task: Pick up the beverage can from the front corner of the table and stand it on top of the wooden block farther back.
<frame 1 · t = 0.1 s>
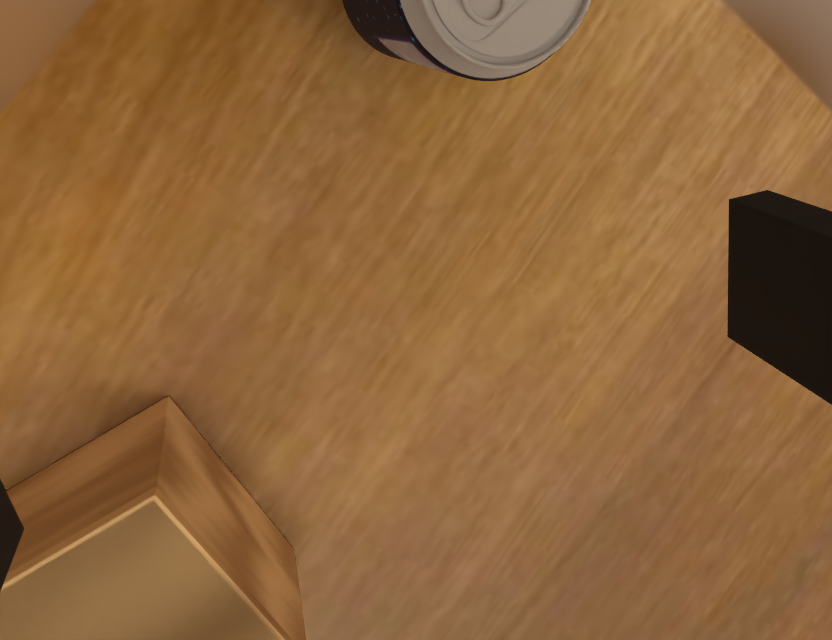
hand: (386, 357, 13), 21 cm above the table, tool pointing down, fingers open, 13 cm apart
wooden block: (138, 534, 37), on the table
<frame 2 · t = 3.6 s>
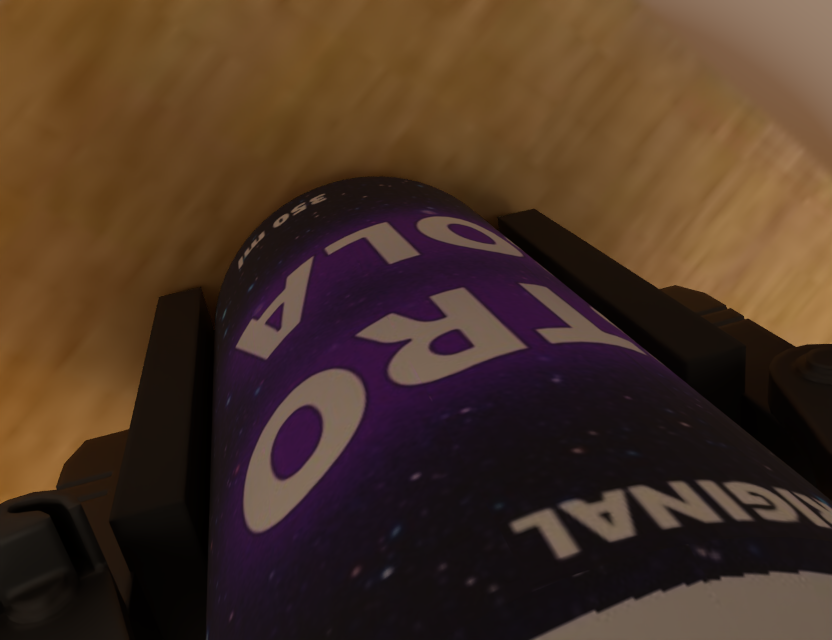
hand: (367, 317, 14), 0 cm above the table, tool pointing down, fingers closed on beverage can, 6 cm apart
beverage can: (362, 307, 15), on the table, touching gripper
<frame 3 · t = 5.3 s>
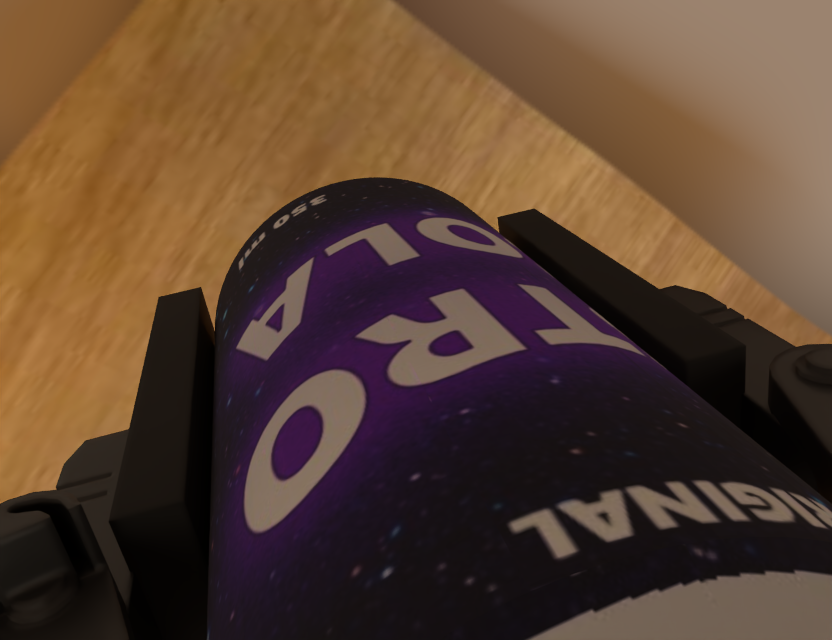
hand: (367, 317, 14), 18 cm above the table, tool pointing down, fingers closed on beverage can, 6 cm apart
beverage can: (363, 307, 15), point 17 cm above the table, touching gripper
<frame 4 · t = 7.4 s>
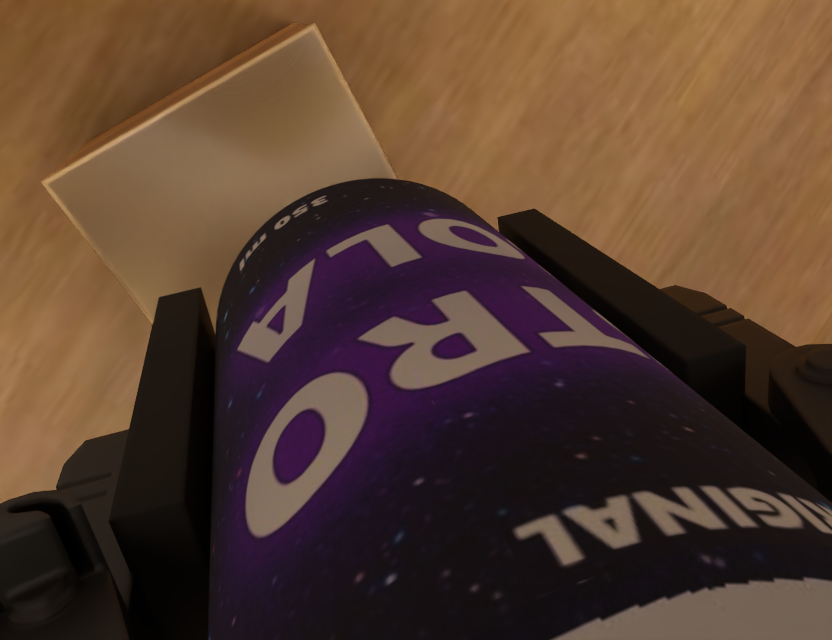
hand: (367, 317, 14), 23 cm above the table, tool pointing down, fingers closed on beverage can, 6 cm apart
wooden block: (255, 187, 36), on the table
beverage can: (364, 309, 15), point 23 cm above the table, touching gripper
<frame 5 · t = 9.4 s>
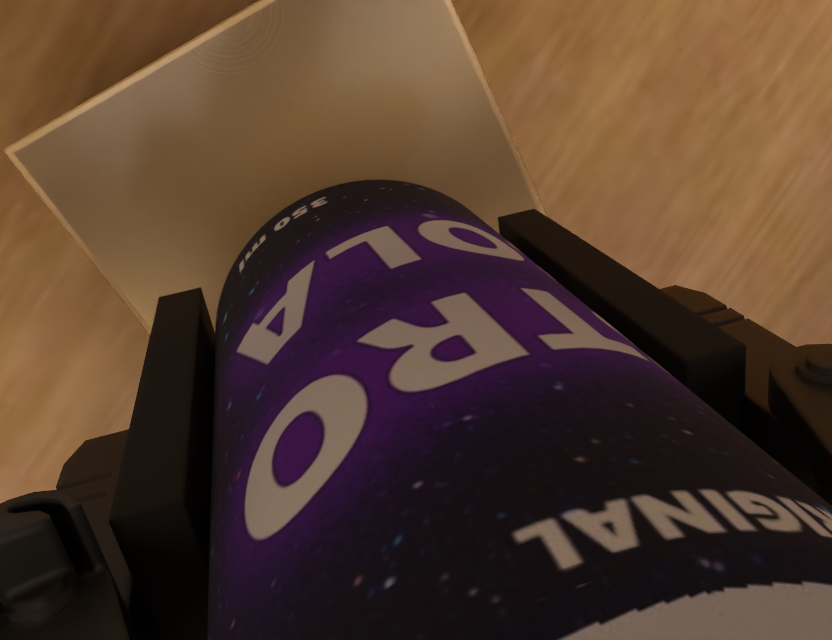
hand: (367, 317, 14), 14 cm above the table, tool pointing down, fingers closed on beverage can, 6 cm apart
wooden block: (300, 169, 27), on the table
beverage can: (363, 310, 15), point 14 cm above the table, touching gripper
when the fingers open (8 cm above the table, at t = 11.3 s): beverage can stays where it is, resting on wooden block.
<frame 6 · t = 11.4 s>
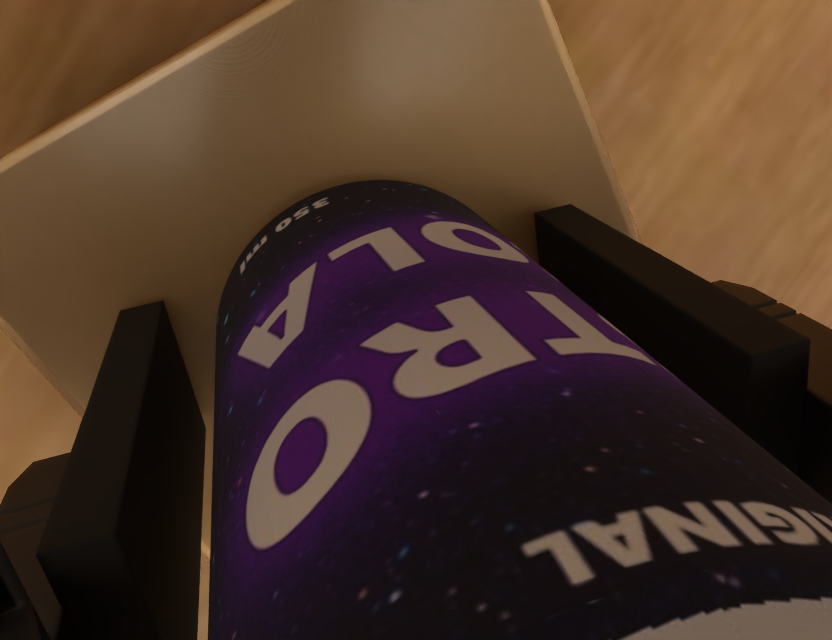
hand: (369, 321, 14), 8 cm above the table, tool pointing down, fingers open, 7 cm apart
wooden block: (319, 212, 22), on the table
beverage can: (365, 311, 15), point 8 cm above the table, touching wooden block
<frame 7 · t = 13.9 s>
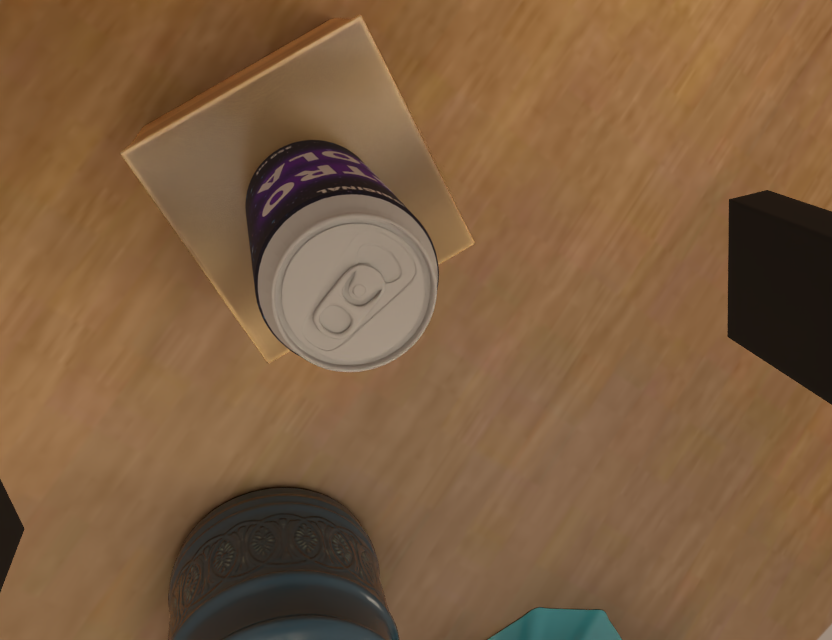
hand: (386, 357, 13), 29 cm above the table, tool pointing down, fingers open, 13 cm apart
canister: (274, 564, 49), on the table
wooden block: (295, 168, 40), on the table
beverage can: (311, 201, 33), point 8 cm above the table, touching wooden block
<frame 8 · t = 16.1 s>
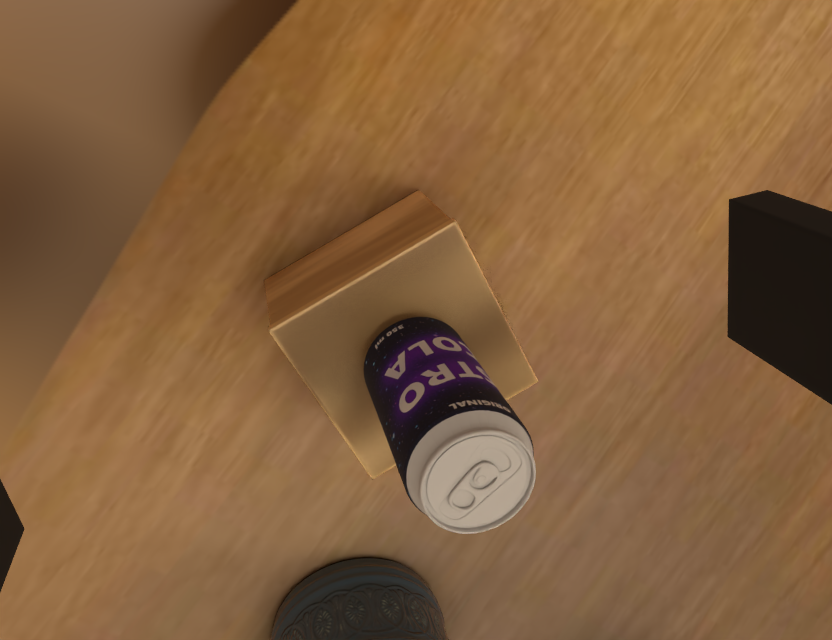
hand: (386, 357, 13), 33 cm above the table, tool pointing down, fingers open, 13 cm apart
canister: (354, 620, 58), on the table
wooden block: (383, 305, 48), on the table
beverage can: (411, 357, 41), point 8 cm above the table, touching wooden block
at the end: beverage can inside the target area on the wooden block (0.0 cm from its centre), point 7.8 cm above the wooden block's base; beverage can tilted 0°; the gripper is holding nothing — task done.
